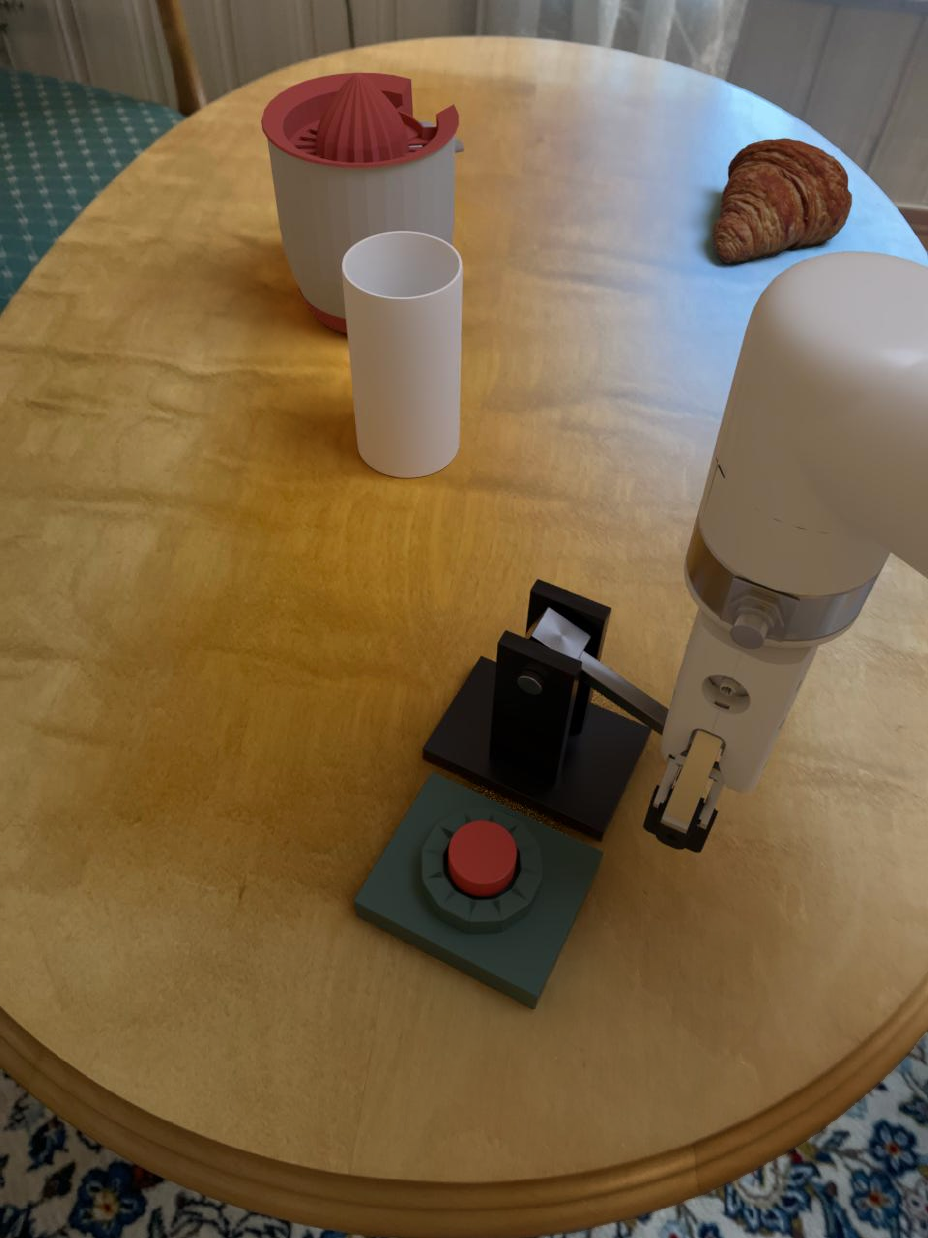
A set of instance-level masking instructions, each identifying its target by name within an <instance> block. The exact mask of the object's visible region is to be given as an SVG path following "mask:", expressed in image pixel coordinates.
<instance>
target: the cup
mask: <svg viewBox="0 0 928 1238" xmlns="http://www.w3.org/2000/svg"><path fill="white" fill-rule="evenodd" d="M463 277H464V267H463V260H462V256H461V254H460V253H459V251H458V250H457V249H456V248H455V247H454V246H453V244H452V245H450V244H449V243H447V242H446V241H444V240H442V239H440V238H438V237H435V236H432V235H429V234H424V233H419V232H411V231H395V232H386V233H381V234H377V235H373V236H370V237H368V238H365V239H363V240H361V241H359V242H358V243H356V244H355V245H354V246H352V247H351V248H350V249H349V250H348V251H347V253H346V254H345V256H344V258H343V262H342V278H343V289H344V301H345V312H346V323H347V333H346V334H347V345H348V356H349V366H350V377H351V378H350V379H351V387H352V388H351V390H352V398H353V399H352V401H353V411H354V412H353V413H354V422H355V423H354V424H355V433H356V443H357V444H356V445H357V451H358V453H359V456H360V458H361V459H362V460H363V462H364V463H366V464H367V465H368V466H369V467H370V468H372V469H373V470H374V471H377V472H378V473H381V474H384V475H386V476H390V477H394V478H401V479H414V478H421V477H426V476H429V475H432V474H433V475H434V474H435V473H437V472H439V471H441V470H443V469H445V468H446V467H447V466H448V465H450V463H452V462H453V460H454V459H456V456H457V454H458V452H459V449H460V437H461V391H462V390H461V386H462V385H461V384H462V383H461V382H462V342H463V341H462V339H463V338H462V336H463V333H462V332H463V286H464V281H463V280H464V278H463Z"/></svg>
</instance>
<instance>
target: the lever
mask: <svg viewBox="0 0 928 1238" xmlns="http://www.w3.org/2000/svg"><path fill="white" fill-rule="evenodd" d="M523 637H524V638H527V639H529V640H531V641H534V642H536V643H539V644H541V645H544V646H546V647H548V648H551V649H553V650H556V651H558V652H560V653H563V654H565V655H568V656H570V657H572V658H575V659H577V660H580V661H582V662H583V663H582V668H581V673H580V678H579V680H581V681H582V682H584V683H585V684H587V685H588V686H590V687H591V688H593V689H594V691H595V692H597V693H598V694H600V695H601V696H603V697H604V698H605V699H607V700H608V701H610V702H611V703H613V704H614V705H615V706H617V707H619V708H620V709H621V710H623V711H625V712H626V713H627V714H629V715H630V716H632V717H633V718H635V719H636V720H638V721H639V722H641V724H643V725H645V726H647V727H649V728H651V729H652V730H653V732H655V733H657V734H658V735H660V736H661V737H662V734H663V730H664V726H665V722H666V718H667V714H668V710H669V707H667V706H665V705H664V704H662V703H661V702H659V701H658V700H656V699H655V698H653V697H652V696H650V695H649V694H648V693H646V691H645V692H644V690H642V689H640V688H639V687H637V686H636V685H634V684H633V683H631V681H629V680H627V679H626V678H624V677H623V676H621V675H619V673H617V672H615V671H614V670H613V669H611V668H610V667H608V666H607V665H605V664H604V663H602V662H601V661H600V662H599V661H598V660H597V659H595V658H594V657H592V656H591V655H589V654H588V653H586V652H585V651H583V650H584V648H585V647H586V645H587V643H588V641H589V639H590V637H591V636H590V635H589V634H587V633H586V632H584V631H583V630H582V629H580V628H579V627H577V626H576V625H574V624H573V623H571V622H570V621H568V620H567V619H566V618H564V617H563V616H561V615H560V614H558V613H557V612H555V611H554V610H552V609H551V608H550V607H548V608H547V609H546V610H545V611H544V612H543V613H542V614H541V616H540V617H539V618H538V619H537V620H536V621H535V622H534V623H533V625H532V626H531V627H530V629H529V630H528V632H527V634H526V635H525V634H524V636H523ZM693 740H694V738H693ZM693 740H692V743H693ZM692 743H691V744H690V743H689V744H688V747H687V749H689V750H690V748H691V745H692ZM681 770H682V766H680V768H679V771H678V773H677V776H676V778H675V783H676V782H677V780H678V777H679V775H680V772H681Z"/></svg>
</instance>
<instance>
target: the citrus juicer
mask: <svg viewBox="0 0 928 1238" xmlns="http://www.w3.org/2000/svg"><path fill="white" fill-rule="evenodd" d="M260 124H261V129H262V132H263V134H264V136H265V137H266V139H267V146H268V147H267V148H268V153H269V154H268V155H269V161H270V167H271V173H272V174H271V175H272V182H273V190H274V196H275V197H274V198H275V203H276V204H275V205H276V210H277V211H276V212H277V218H278V224H279V231H280V235H281V239H282V240H281V241H282V246H283V250H284V253H285V257H286V260H287V262H288V266H289V268H290V271H291V273H292V276H293V278H294V280H295V282H296V284H297V286H298V287H297V288H298V291H299V292H300V294H301V296H302V298H303V300H304V302H305V303H306V305H307V307H308V308H309V310H310V312H311V313H312V314H313V316H314V317H315V318H316V319H317V320H318V321H319V322H320V323H322V324H323V325H325V326H326V327H328V328H330V329H332V330H335V331H337V332H339V333H344V334H347V323H346V312H345V301H344V289H343V278H342V262H343V258H344V256H345V254H346V253H347V251H348V250H349V249H350V248H351V247H352V246H354V245H355V244H356V243H358V242H359V241H361V240H363V239H365V238H368V237H370V236H373V235H377V234H381V233H386V232H395V231H411V232H419V233H424V234H429V235H432V236H435V237H438V238H440V239H442V240H444V241H446V242H447V243H449V244H450V245H452V246H453V243H454V233H455V232H454V231H455V200H456V199H455V196H456V195H455V193H456V191H455V188H456V186H455V185H456V183H455V182H456V154H457V153H463V152H464V151H465V145H464V142H463V141H462V140H461V139H458V138H456V134H457V131H458V128H459V126H460V115H459V112H458V110H457V107H456V105H455V104H453V103H452V105H450V106H448V107H446V108H445V109H443V110H441V111H440V112H437V113H436V114H435V124H434V123H433V122H430V121H427V120H418V119H416V118H415V117H414V107H413V87H412V79H411V78H408V77H404V76H400V75H396V74H388V73H379V72H347V73H336V74H331V75H330V74H329V75H323V76H320V77H315V78H312V79H308V80H304V81H302V82H299V83H296V84H293V85H292V86H290V87H288V88H286V89H284V90H283V91H281V92H279V93H278V94H277V95H275V96H274V97H273V98H272V99H270V101H269V102H268V103H267V105H266V106H265V108H264V109H263V113H262V116H261V120H260ZM435 125H436V126H435Z"/></svg>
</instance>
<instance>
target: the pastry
mask: <svg viewBox="0 0 928 1238" xmlns="http://www.w3.org/2000/svg"><path fill="white" fill-rule="evenodd" d="M727 178H728V180H727V182H726V185H725V186H724V188H723V191H722V194H721V198H720V212H719V220H717V222H716V223H715V224H714V226H713V229H712V243H713V247H714V249H715V252H716V253H715V254H716V256H718V257H719V258H720V260H721V262H723V263H725V264H728V265H729V264H741V263H745V262H748V261H749V262H750V261H752V262H753V261H755V260H758V259H761V258H767V257H769V258H770V257H773V256H776V255H779V254H781V253H782V252H784V251H785V250H790V251H792V250H796V249H799V248H807V247H814V246H817V245H821V244H824V243H826V242H828V241H831V240H832V239H833V238H835V237H836V236H837V235H838V234H839V233H840V232H841V230H842V229H844V226H845V225H846V223H847V220H848V218H849V215H850V213H851V208H852V205H853V193H851V192H850V190H849V175H848V173H847V171H846V168H845V167H844V166H843V165H842V163H841V162H840V161H839V160H838V159H837V158H836V157H835V156H834V155H831V154H829V153H828V152H826V151H825V150H824V149H822V148H820V147H817V146H815V145H812V144H810V143H808V142H805V141H803V140H798V139H791V138H785V137H783V138H777V139H764V140H759V141H754V142H752V143H749V144H747V145H746V146H745V147H743V148H741V149H740V150H739V151H738V152H737V153H736V154H735V155H734V157H733V158H732V159H731V160H730V162H729V165H728V166H727Z"/></svg>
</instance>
